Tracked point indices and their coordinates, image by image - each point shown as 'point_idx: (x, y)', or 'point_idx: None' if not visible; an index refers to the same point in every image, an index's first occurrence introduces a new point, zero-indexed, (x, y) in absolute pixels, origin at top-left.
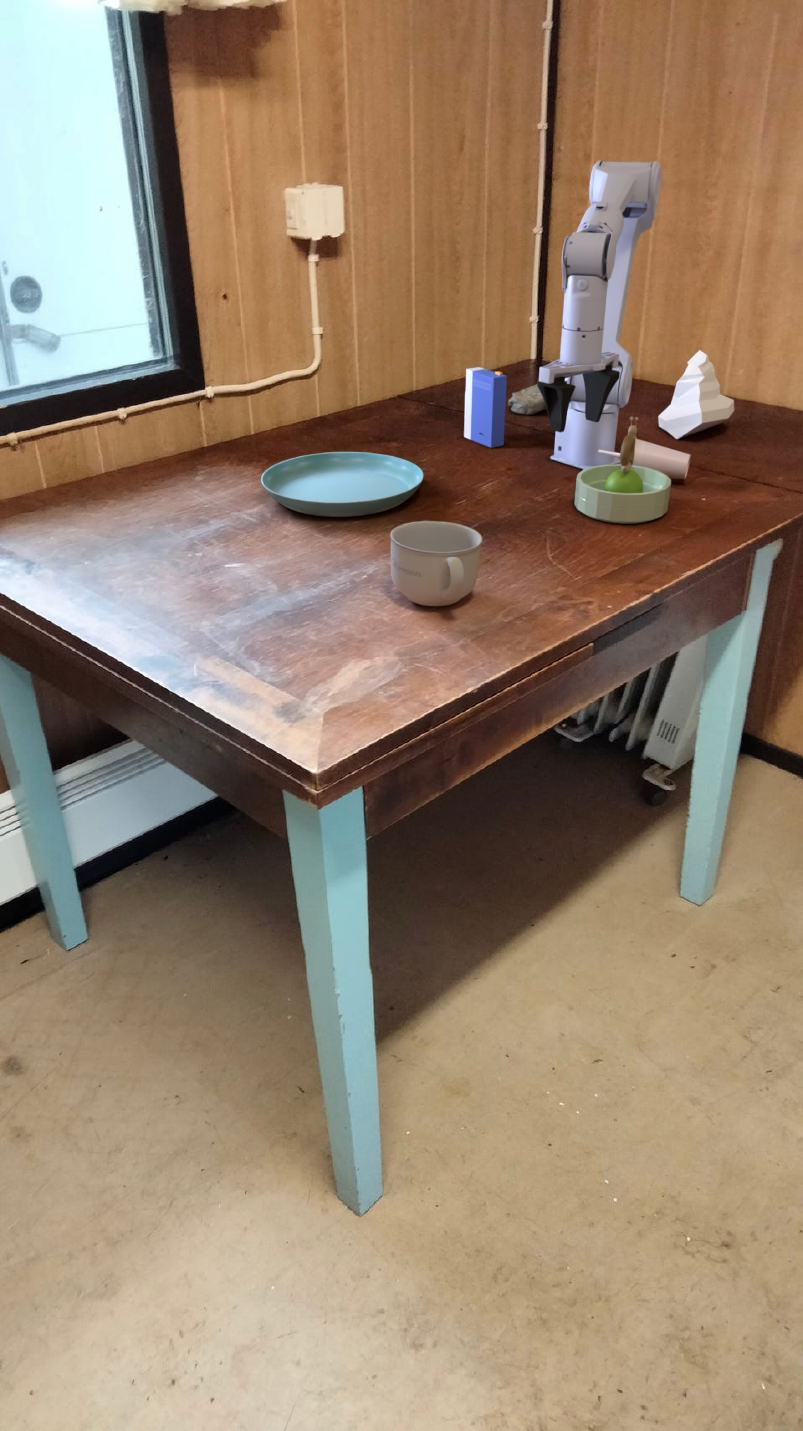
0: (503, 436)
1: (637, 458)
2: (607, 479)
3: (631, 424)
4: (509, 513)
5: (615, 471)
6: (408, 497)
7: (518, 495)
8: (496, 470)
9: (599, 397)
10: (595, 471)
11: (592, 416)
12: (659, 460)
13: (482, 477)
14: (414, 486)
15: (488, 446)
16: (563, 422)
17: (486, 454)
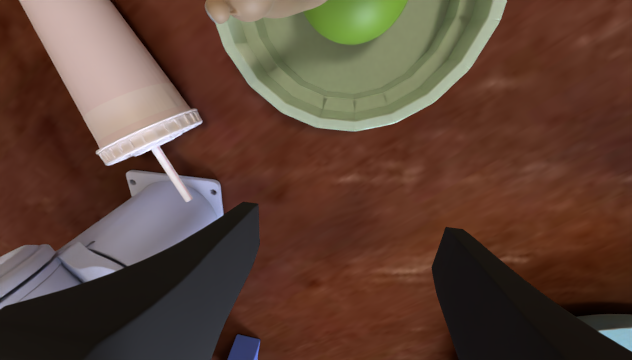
0: (233, 346)
1: (159, 94)
2: (384, 25)
3: (230, 11)
4: (527, 168)
5: (368, 6)
6: (604, 316)
7: (418, 210)
8: (333, 293)
9: (211, 271)
10: (321, 114)
11: (254, 231)
12: (116, 40)
13: (376, 292)
14: (615, 329)
15: (259, 343)
16: (484, 248)
17: (285, 331)
